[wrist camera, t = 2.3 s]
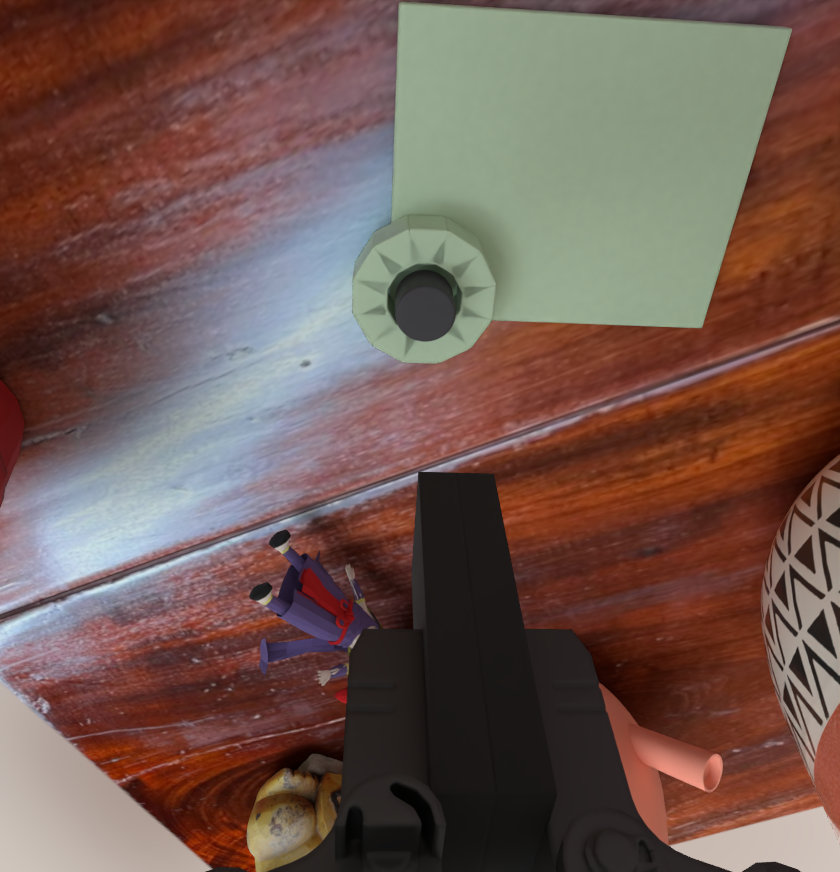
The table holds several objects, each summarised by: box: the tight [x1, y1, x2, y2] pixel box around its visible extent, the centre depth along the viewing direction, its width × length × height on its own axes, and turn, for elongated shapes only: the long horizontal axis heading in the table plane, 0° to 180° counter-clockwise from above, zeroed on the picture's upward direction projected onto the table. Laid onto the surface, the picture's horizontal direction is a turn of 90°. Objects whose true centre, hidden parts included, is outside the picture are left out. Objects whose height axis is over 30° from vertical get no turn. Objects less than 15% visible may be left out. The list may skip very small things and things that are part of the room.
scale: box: [353, 1, 792, 364], centre depth 24 cm, size 13×11×2 cm
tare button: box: [395, 270, 456, 342], centre depth 24 cm, size 2×2×2 cm
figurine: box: [249, 530, 383, 703], centre depth 34 cm, size 6×8×15 cm
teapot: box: [599, 683, 723, 846], centre depth 37 cm, size 12×12×10 cm
